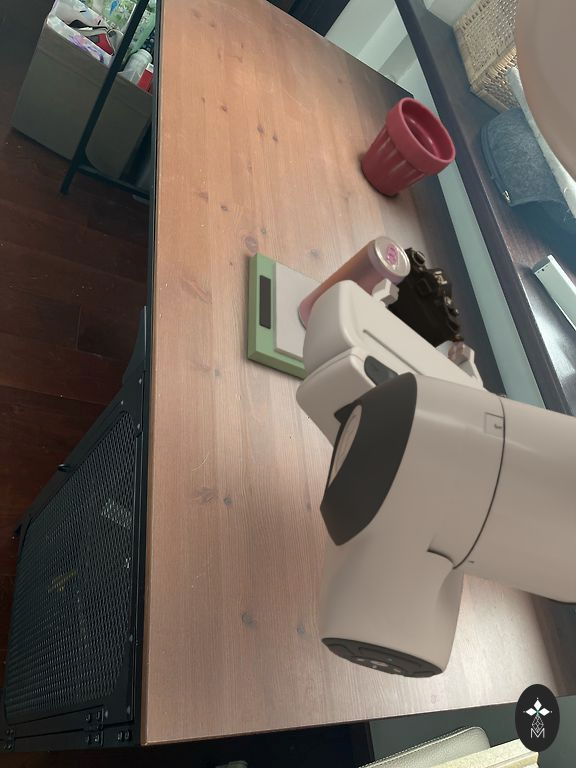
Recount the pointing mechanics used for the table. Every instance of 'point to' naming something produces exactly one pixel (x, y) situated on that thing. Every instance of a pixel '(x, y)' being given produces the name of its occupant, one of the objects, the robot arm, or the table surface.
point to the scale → (277, 314)
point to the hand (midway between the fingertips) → (424, 318)
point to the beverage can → (364, 271)
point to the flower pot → (407, 148)
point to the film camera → (427, 302)
